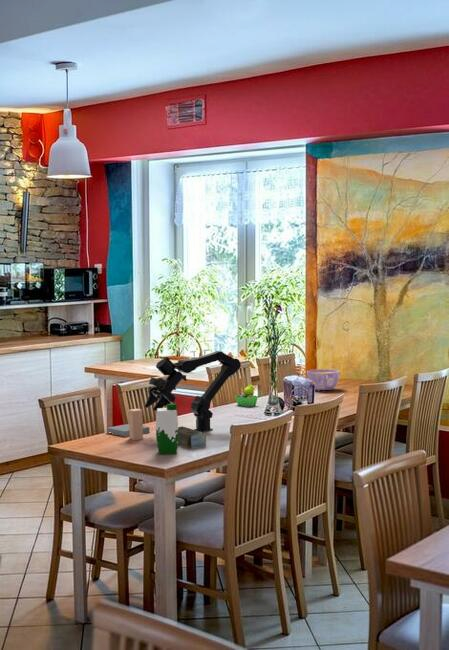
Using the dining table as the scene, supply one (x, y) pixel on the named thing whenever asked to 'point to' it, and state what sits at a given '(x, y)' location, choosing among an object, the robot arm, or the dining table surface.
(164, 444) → the milk carton
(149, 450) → the dining table surface
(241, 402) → the fruit basket
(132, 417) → the block
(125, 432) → the plate
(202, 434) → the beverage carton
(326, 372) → the purple round bowl
